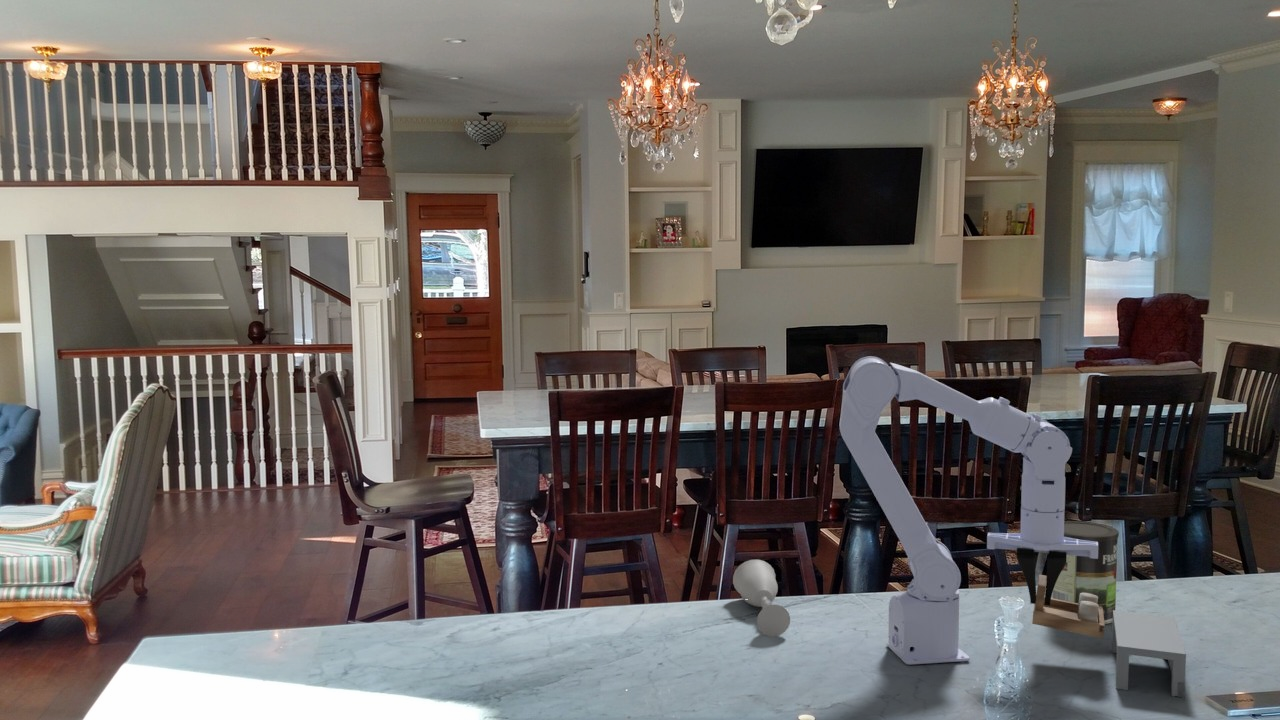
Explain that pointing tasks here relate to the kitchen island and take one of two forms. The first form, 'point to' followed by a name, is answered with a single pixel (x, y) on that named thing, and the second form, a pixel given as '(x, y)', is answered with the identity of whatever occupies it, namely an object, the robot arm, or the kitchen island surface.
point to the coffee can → (1090, 567)
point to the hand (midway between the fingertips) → (1040, 602)
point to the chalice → (762, 595)
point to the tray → (1069, 613)
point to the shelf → (1148, 645)
